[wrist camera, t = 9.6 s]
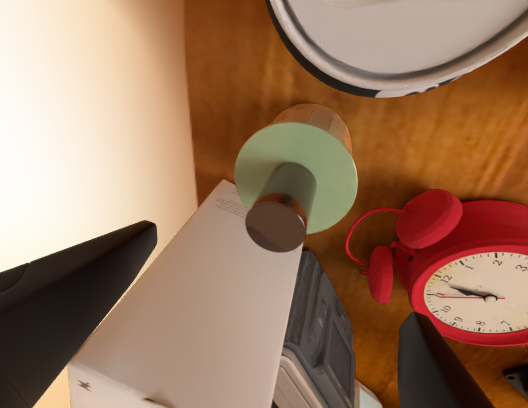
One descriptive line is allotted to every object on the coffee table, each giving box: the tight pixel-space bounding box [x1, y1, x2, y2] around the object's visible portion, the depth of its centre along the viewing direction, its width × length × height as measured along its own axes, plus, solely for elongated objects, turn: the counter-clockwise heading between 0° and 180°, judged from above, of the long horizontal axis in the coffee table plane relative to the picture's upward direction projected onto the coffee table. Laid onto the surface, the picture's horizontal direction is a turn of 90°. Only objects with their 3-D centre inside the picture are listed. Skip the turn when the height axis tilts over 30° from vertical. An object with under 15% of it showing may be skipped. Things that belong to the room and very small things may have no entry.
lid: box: [234, 120, 358, 253], centre depth 13 cm, size 7×7×5 cm
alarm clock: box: [344, 189, 528, 350], centre depth 19 cm, size 10×6×15 cm
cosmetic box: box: [67, 179, 303, 408], centre depth 18 cm, size 8×7×16 cm
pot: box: [271, 103, 352, 154], centre depth 17 cm, size 6×6×6 cm
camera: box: [273, 250, 355, 408], centre depth 23 cm, size 11×6×10 cm, turn 25°
